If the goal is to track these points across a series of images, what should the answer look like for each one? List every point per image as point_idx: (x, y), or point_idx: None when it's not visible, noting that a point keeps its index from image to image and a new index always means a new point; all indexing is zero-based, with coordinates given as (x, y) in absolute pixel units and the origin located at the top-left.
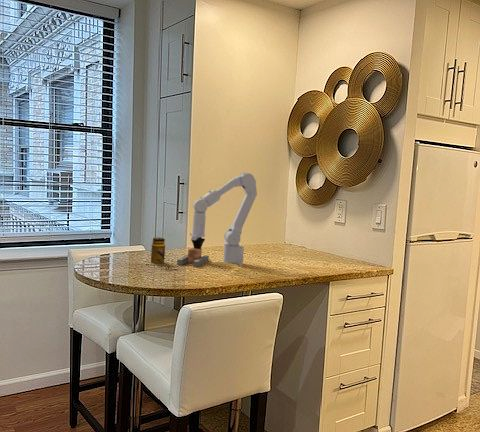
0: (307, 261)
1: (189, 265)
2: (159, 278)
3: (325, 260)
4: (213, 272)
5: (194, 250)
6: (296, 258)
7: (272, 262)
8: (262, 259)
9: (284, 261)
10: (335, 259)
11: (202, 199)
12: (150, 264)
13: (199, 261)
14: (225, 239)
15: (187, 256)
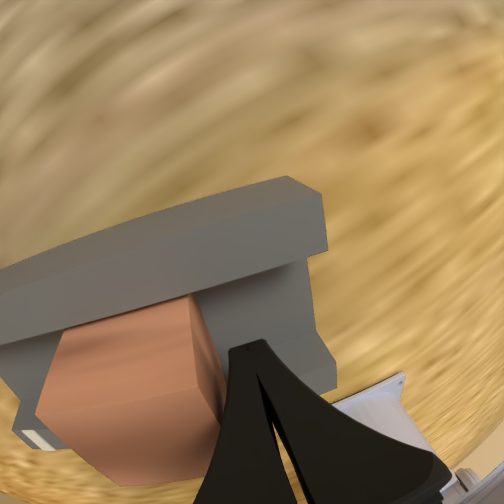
0: (465, 435)
1: (16, 372)
2: None
3: (480, 432)
4: (75, 468)
5: (90, 460)
6: (494, 404)
7: (435, 433)
8: (474, 392)
9: (456, 428)
10: (490, 427)
11: None
12: None
13: (63, 445)
14: (465, 485)
15: (86, 311)
